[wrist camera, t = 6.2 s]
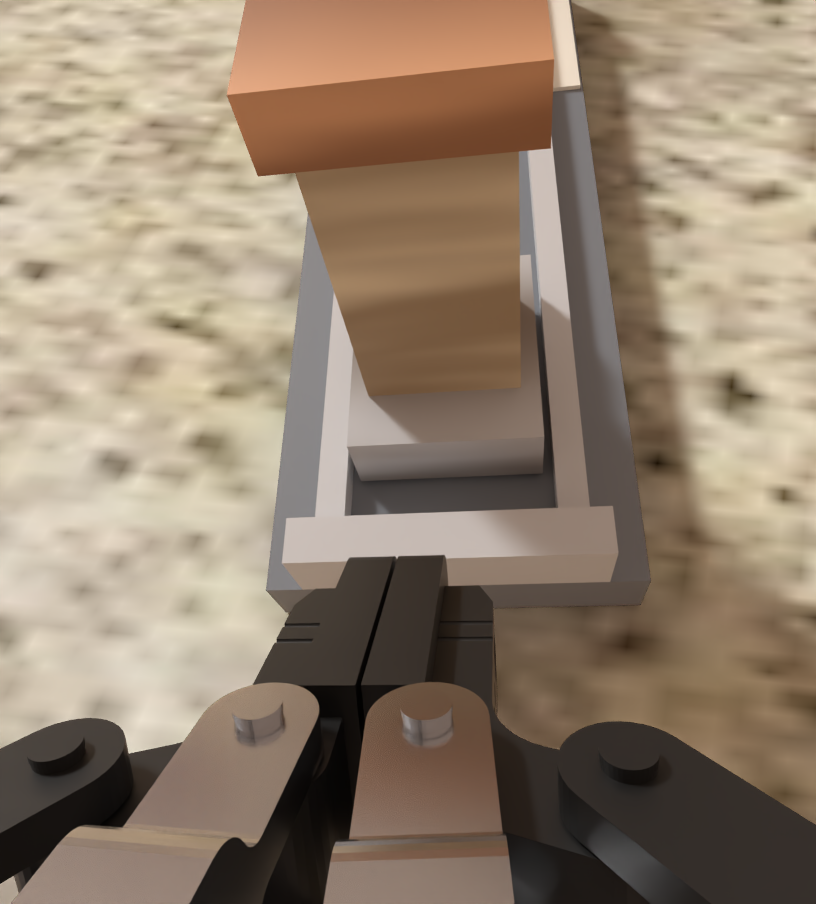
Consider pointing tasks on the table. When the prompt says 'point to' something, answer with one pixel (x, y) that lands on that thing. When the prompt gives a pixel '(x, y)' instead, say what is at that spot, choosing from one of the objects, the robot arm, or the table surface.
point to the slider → (414, 210)
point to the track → (484, 497)
